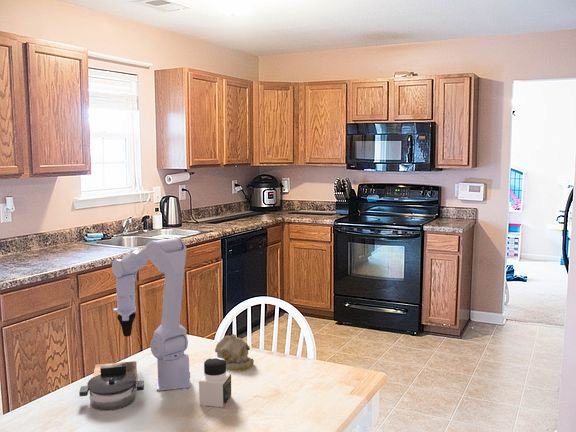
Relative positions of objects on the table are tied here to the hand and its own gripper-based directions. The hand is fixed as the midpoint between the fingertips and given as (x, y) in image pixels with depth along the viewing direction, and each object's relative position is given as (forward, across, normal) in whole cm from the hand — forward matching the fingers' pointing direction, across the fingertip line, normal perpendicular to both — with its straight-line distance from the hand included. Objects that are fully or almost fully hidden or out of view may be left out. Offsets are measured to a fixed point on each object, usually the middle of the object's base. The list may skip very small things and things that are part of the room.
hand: (127, 335), depth 181 cm
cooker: (+9, +22, -3) cm, 24 cm away
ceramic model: (+10, +8, +34) cm, 36 cm away
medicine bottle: (+10, +34, +25) cm, 43 cm away
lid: (+5, +27, -3) cm, 28 cm away
